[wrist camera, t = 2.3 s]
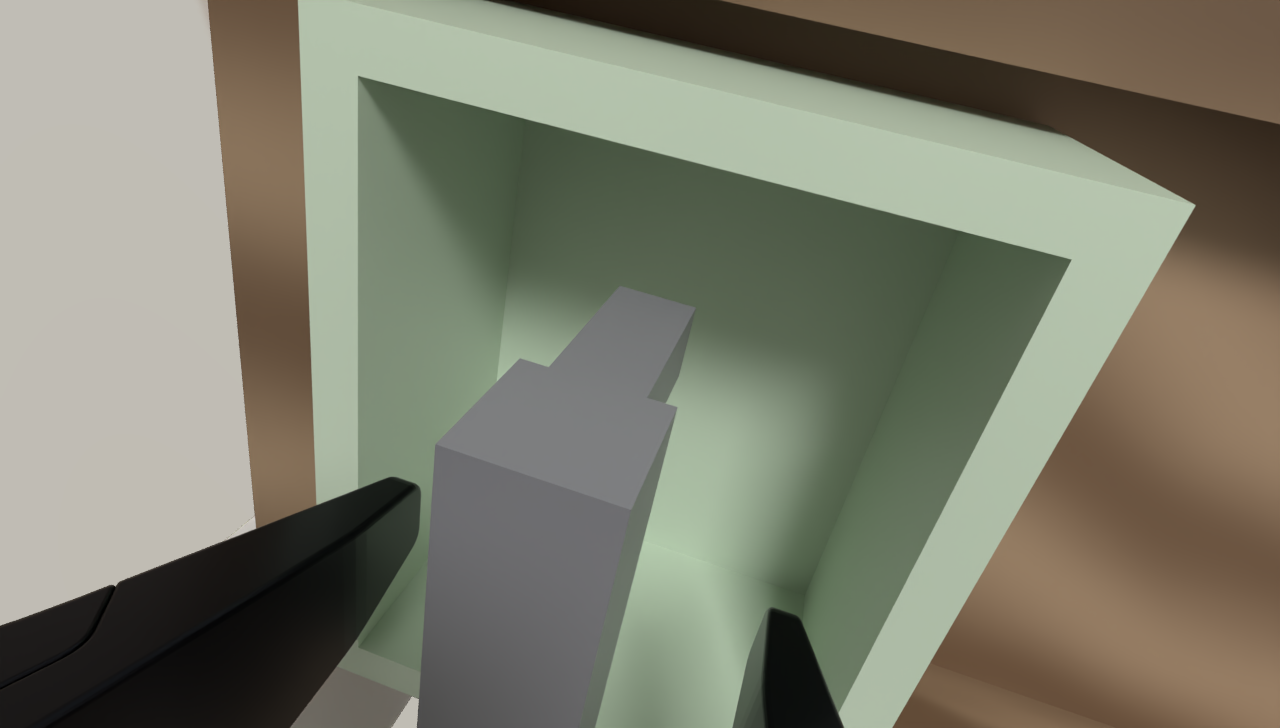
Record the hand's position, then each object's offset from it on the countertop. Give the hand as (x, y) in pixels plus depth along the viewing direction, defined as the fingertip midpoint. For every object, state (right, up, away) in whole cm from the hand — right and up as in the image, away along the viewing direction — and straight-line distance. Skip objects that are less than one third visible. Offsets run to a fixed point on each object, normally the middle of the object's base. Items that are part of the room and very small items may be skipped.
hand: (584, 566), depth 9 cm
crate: (+2, +3, +6) cm, 7 cm away
